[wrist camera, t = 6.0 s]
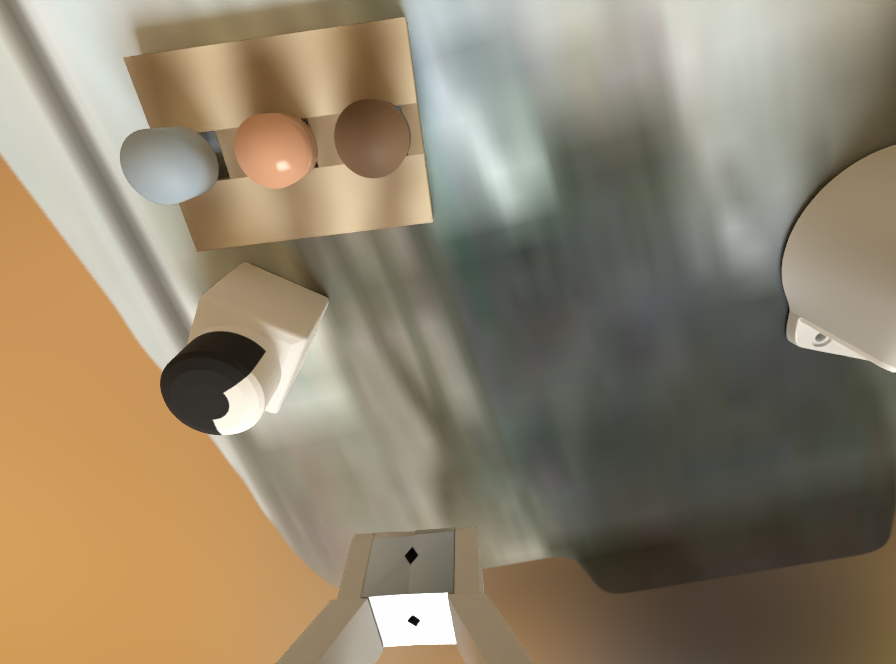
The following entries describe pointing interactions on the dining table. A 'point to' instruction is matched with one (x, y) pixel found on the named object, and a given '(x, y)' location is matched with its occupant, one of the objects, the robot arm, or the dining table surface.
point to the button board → (305, 96)
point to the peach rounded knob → (275, 149)
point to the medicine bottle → (242, 351)
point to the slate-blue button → (169, 164)
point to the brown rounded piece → (372, 137)
